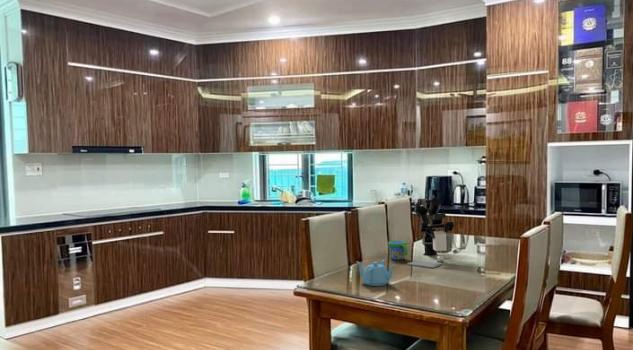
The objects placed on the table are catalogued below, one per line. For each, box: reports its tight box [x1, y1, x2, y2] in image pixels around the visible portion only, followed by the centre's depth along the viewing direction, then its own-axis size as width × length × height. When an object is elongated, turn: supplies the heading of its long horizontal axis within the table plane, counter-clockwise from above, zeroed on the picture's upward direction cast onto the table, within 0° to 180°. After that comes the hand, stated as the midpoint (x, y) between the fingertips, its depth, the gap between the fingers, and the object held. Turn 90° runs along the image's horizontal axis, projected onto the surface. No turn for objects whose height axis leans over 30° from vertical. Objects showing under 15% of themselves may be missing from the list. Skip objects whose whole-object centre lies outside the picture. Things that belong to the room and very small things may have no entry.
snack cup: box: [387, 240, 408, 261], centre depth 271 cm, size 16×10×10 cm
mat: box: [406, 260, 443, 269], centre depth 253 cm, size 16×10×1 cm, turn 46°
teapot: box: [355, 258, 395, 287], centre depth 218 cm, size 15×15×10 cm
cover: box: [433, 230, 447, 252], centre depth 259 cm, size 6×6×10 cm
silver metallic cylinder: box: [436, 255, 444, 263], centre depth 260 cm, size 4×4×3 cm
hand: (440, 238), depth 258 cm, fingers closed on cover, 6 cm apart
